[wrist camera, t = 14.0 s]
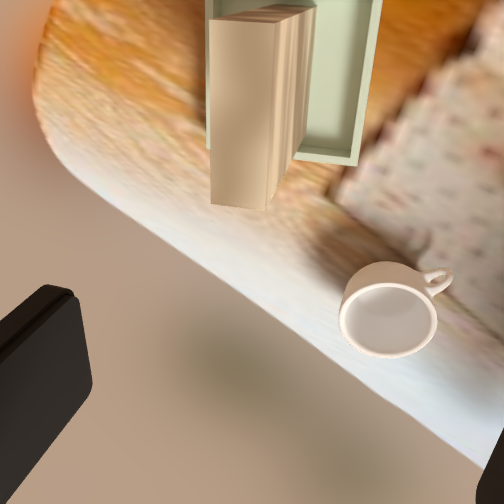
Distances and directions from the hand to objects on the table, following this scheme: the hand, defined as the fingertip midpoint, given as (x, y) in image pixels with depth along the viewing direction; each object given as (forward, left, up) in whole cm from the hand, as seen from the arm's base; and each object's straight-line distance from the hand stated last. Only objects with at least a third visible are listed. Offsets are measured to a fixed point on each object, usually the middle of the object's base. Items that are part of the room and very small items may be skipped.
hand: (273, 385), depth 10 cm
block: (+5, -1, -30) cm, 31 cm away
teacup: (-6, +16, -31) cm, 35 cm away
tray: (+5, -1, -31) cm, 31 cm away
